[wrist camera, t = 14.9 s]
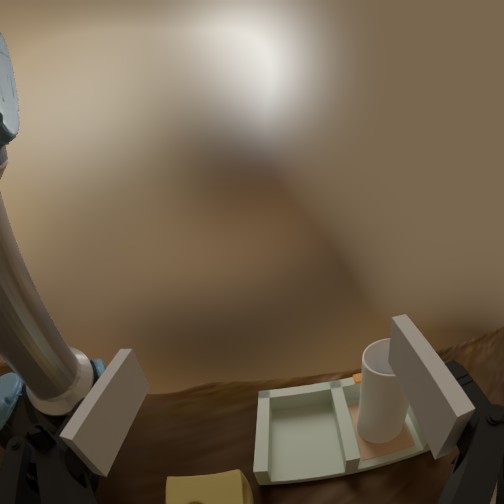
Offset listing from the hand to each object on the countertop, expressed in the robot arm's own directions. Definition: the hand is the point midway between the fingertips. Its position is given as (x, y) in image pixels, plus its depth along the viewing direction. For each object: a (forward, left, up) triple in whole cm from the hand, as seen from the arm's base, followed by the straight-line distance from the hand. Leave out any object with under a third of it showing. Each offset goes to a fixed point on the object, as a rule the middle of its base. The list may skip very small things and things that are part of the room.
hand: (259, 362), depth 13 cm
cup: (+4, +23, -33) cm, 40 cm away
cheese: (-10, -4, -34) cm, 36 cm away
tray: (-2, +20, -34) cm, 40 cm away
